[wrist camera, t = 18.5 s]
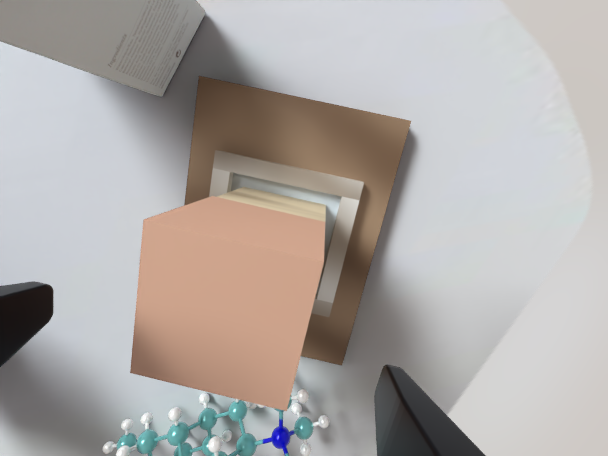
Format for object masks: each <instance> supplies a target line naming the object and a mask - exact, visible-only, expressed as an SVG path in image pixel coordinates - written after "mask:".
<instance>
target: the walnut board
mask: <svg viewBox="0 0 608 456" xmlns="http://www.w3.org/2000/svg"><path fill="white" fill-rule="evenodd" d="M410 123H411V121H409V120H404V119H400V118H395V117H390V116H386V115H381V114H376V113H371V112H367V111H362V110H357V109H353V108H348V107H343V106H339V105H334V104H329V103H324V102H320V101H315V100H310V99H306V98H301V97H296V96H291V95H287V94H282V93H277V92H273V91H268V90H263V89H259V88H254V87H249V86H244V85H240V84H235V83H230V82H226V81H221V80H216V79H211V78H207V77H202V76H199V80H198V89H197V98H196V107H195V116H194V125H193V133H192V142H191V151H190V160H189V169H188V178H187V187H186V196H185V205H188V204H191V203H193V202H196V201H199V200H202V199H205V198H208V197H211V196H215V197H217V196H220V195H223V194H225V193H228V192H231V191H234V190H236V189H239V188H242V187H247V188H252V189H256V190H261V191H265V192H270V193H274V194H279V195H284V196H288V197H293V198H297V199H302V200H306V201H311V202H315V203H320V204H324V205H326V220H325V245H324V264H323V268H322V272H321V276H320V280H319V284H318V288H317V292H316V296H315V300H314V304H313V308H312V312H311V316H310V320H309V324H308V328H307V332H306V336H305V340H304V344H303V348H302V352H301V356H304V357H308V358H312V359H317V360H321V361H325V362H329V363H334V364H338V365H342V363H343V360H344V356H345V353H346V349H347V346H348V342H349V339H350V335H351V332H352V328H353V325H354V321H355V317H356V314H357V310H358V307H359V303H360V300H361V296H362V293H363V289H364V286H365V282H366V279H367V275H368V272H369V268H370V264H371V261H372V257H373V254H374V250H375V247H376V243H377V240H378V236H379V233H380V229H381V226H382V222H383V219H384V215H385V211H386V208H387V204H388V201H389V197H390V194H391V190H392V187H393V183H394V180H395V176H396V173H397V169H398V166H399V162H400V158H401V155H402V151H403V148H404V144H405V141H406V137H407V134H408V130H409V127H410ZM185 205H184V206H185Z"/></svg>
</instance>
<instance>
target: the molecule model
mask: <svg viewBox="0 0 608 456" xmlns="http://www.w3.org/2000/svg"><path fill="white" fill-rule="evenodd" d="M209 399H210V397H209V395H208V394H207V393H203V394H201V395H200V397H199V402H200V404H202V405H204V410H203V411H202V412H201V414H200V415H199V418H198V422H197V423H195V424H193V425H191V426H187V424H186V423H184V422H178V419H179V418H180V417H181V410H180V408H178V407H175V408H172V409H171V410H170V412H169V414H168V417H169V419H170V420H171V421H174V424H173V425H172V426H171V427H170V429H169V431H168V434H167V435H163V436H159V437H158V434H157V433H156V432H155V431H154V430H149V424H150V423H151V422H152V420H153V415H152V413H150V412H147V413H145V414H143V415H142V417H141V423H142V424H143V425H145V431H144V432H143V433H142V434H141V435H140V436H139V437H138V438H137V439H136V436H135V435H134V434H133V433H129V429H130V428H131V427H132V426H133V420H132V419H130V418H128V419H125V420H124V421H123V422H122V425H121V427H122V429H123V430H125V434H124V435H123V436H121V437H120V439H119V440H118V442H117V444H114V442H112V441H109V442H107V443H105V445H104V446H103V452H104V453H106V454H108V453H110V452H112V451H113V449H114V448H116V447H117V453H116V456H129V454H130V452H131V451H133V450H135V449H137V450H138V451H139V452H140V453H142V454H147V453H148V456H152V451H153V450H154V449H155V447H156V446H157V443H158V441H160V440H164V439H168V442H169V443H170V444H171V445H173V446H178V447H177V448H176V450H175V452H174V456H192V453H193V452H196V451H199V450H202V452H203V453H204V455H206V456H228V455H227V454H226V453H225V452H222V451H219V450H220V449H221V447H222V440H223V441H224V442H228V441H229V440H230V439H231V438H232V433H231V431H230V430H225V431H224V432H223V433H222V437H221V438H220V437H218V436H216V435H213V434H211V428H212V427H214V425H215V424H216V422H217V418H220V417H223V416H227V415H229V417H230V418H231V420H233V421H236V422H238V421H239V425H240V429H241V433H242V436H241V437H240V438H239V439H238V441H237V444H236V451H234V452H233V453H232V454H230V455H229V456H236V455H237V454H238V455H239V456H252V455H253V454H254V453H255V451H256V448H257V445H260V444H265V443H269V442H272V443H273V445H274V446H275V447H276V448H278V449H283V451H284V454H285V456H289V454H288V451H287V448H286V446H287V445H288V444H289V441H290V436H291V435H293V434H296V435H297V437H298V438H300V439H303V443H302V445H301V447H300V451H301V453H302V455H304V456H308V455H309V454H310V453H311V446H310V444H309V443H307V439H308V438H309V437H310V436H311V435H312V433H313V427H315V426H318V425H319V426H320V427H321V428H327V427H328V426H329V418H328V417H327V416H326V415H321V416H320V417H319V419H318V422H314V423H312V422H311V420H310V419H309V418H307V417H301V415H300V413H301V411H302V407H301V405H300V404H299V403H294V404H293V405H292V407H291V411H292V413H293V414H294V415H297V416H298V420H297V421H296V423H295V427H294V430H292V431H290V432H289V430H288V429H287V428H286V427H284V426H283V411H284V410H280V409H276V408H274V409H275V410H276V411H279V426H278V427H276V428H275V429H274V431H273V433H272V436H271V438H267V439H263V440H259V441H256V439H255V437H254V436H253V435H252V434H249V433H246V434H245V430H244V426H243V422H242V419H244V417H245V416H246V414H247V408H248V407H249V408H250V409H254V408H256V407H257V406H258V407H260V408H264V407H266V406H263V405H259V404H255V403H251V402H247V404H246V403H245V402H244V401H242V400H239V399H235V401H234V402H232V403H231V405H230V407H229V410H228V412H224V413H220V414H217V413H216V411H215V410H214V409H211V408H208V407H207V403H208V401H209ZM296 399H297V400H298V402H300V403H302V404H304V403H306V402H307V401H308V399H309V393H308V392H307V391H306V390H305V389H301V390H299V391H298V393H297V395H294V396H290V400H289V404H288V408H289V407H290V405H291V402H292V400H296ZM288 408H287V409H288ZM197 426H200V427H201V428H202V429H204V430H208V436H207V437H206V438H205V439H204V440H203V443H202V446H200V447H197V448H193V449H192V446H191V445H190V444H189V443H184V442H185V441H186V439H187V438H188V435H189V430H191V429H193V428H195V427H197ZM136 442H137V443H136Z"/></svg>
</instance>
